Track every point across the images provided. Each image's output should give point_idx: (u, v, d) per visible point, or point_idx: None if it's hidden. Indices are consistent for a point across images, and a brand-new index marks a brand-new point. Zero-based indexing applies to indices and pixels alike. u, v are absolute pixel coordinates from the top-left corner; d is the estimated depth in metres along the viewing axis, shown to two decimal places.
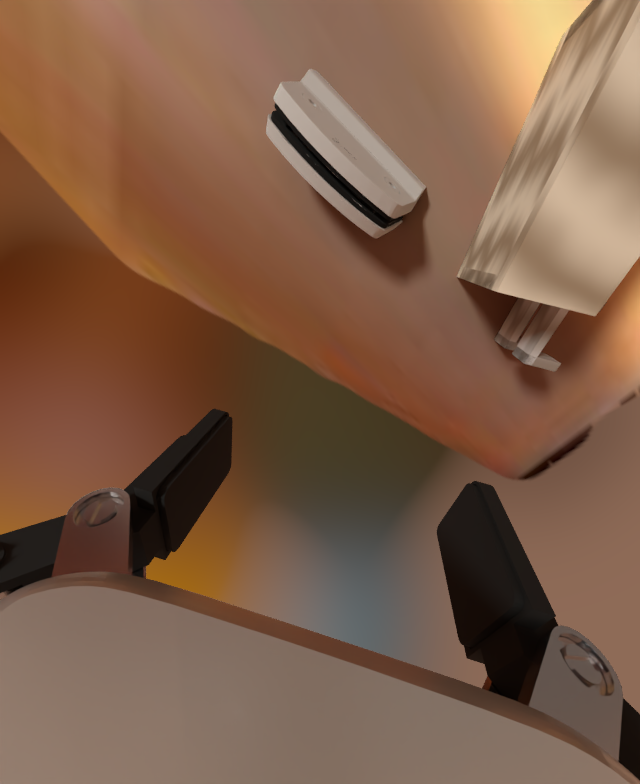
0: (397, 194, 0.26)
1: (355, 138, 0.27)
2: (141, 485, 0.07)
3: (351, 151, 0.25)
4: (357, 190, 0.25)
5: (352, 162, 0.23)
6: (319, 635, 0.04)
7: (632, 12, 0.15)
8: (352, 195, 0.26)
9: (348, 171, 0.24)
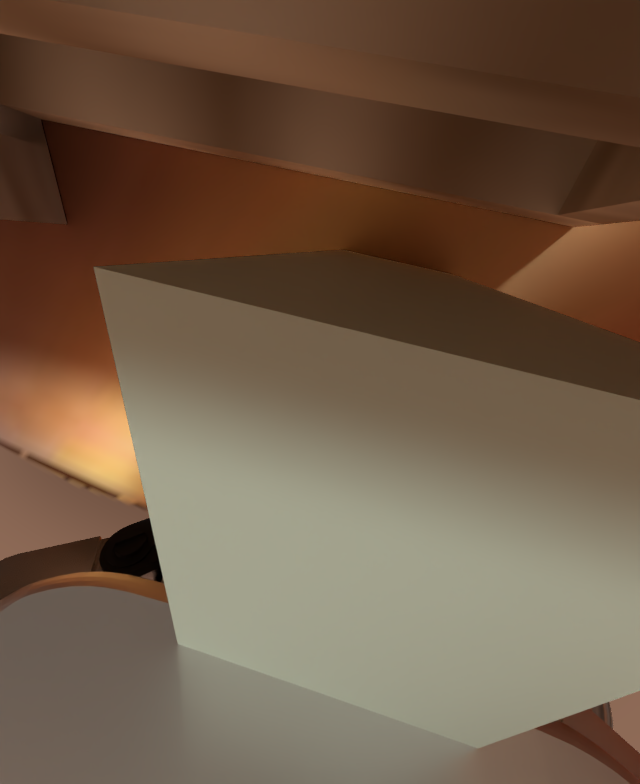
0: None
1: None
2: None
3: None
4: None
5: None
6: None
7: None
8: None
9: None
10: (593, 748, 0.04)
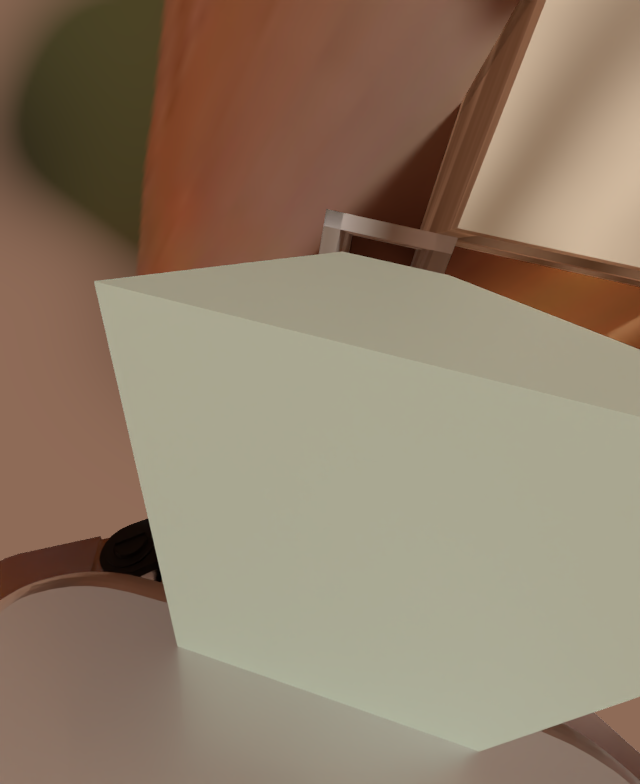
0: None
1: None
2: None
3: None
4: None
5: None
6: None
7: None
8: None
9: None
10: (593, 748, 0.04)
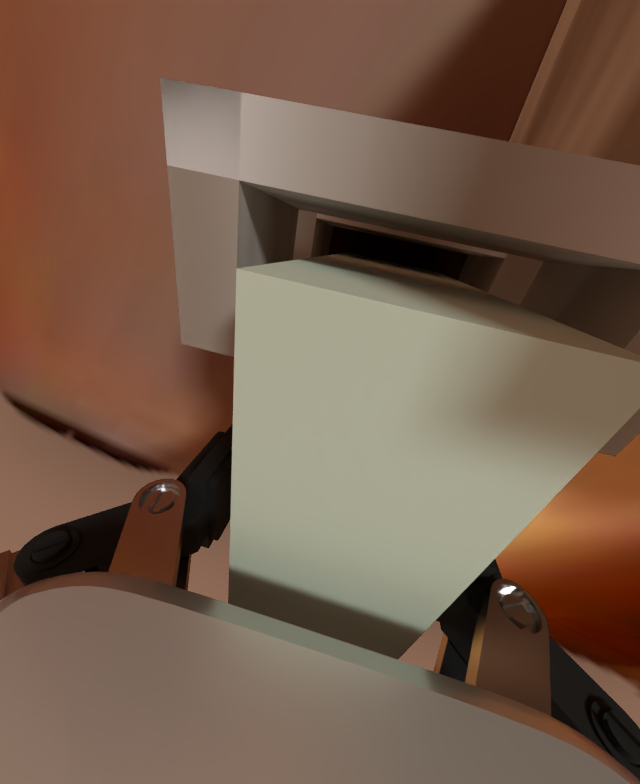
0: None
1: None
2: (195, 476, 0.07)
3: None
4: None
5: None
6: (319, 635, 0.04)
7: None
8: None
9: None
10: (593, 748, 0.04)
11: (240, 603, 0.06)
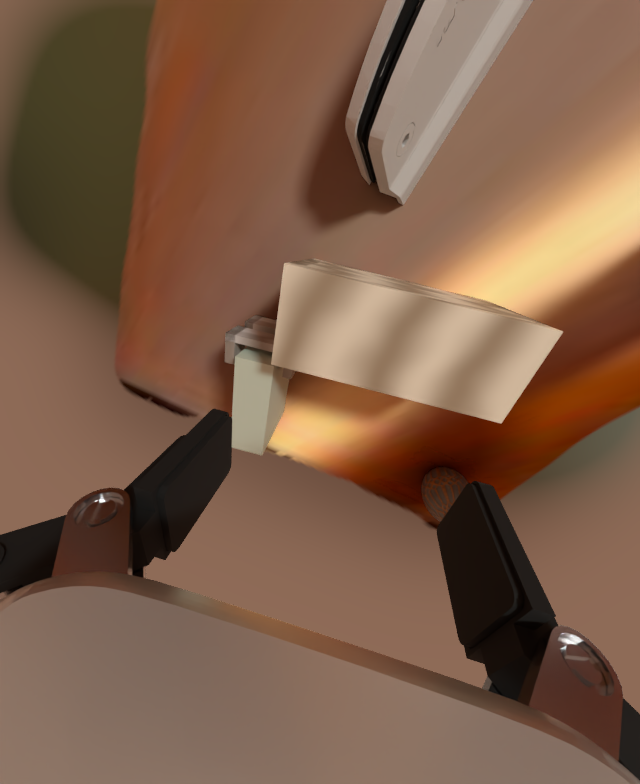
0: (395, 147, 0.21)
1: (460, 68, 0.21)
2: (141, 485, 0.07)
3: (448, 40, 0.17)
4: (400, 55, 0.17)
5: (434, 29, 0.16)
6: (319, 635, 0.04)
7: (491, 312, 0.20)
8: (395, 54, 0.17)
9: (424, 23, 0.16)
10: (593, 748, 0.04)
11: (234, 414, 0.30)
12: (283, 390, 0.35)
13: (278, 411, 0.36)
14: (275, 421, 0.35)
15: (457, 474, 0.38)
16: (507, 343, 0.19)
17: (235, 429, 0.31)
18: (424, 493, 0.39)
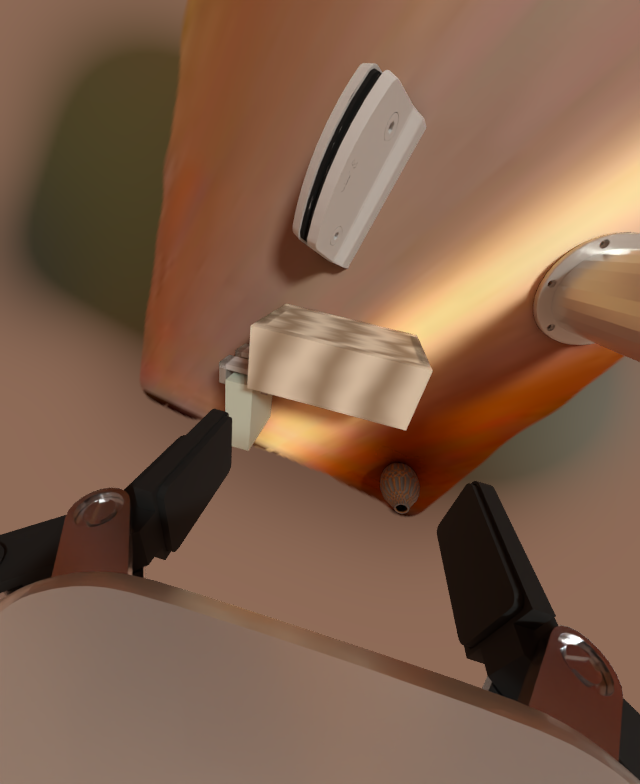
0: (328, 242, 0.31)
1: (371, 187, 0.30)
2: (141, 485, 0.07)
3: (351, 184, 0.27)
4: (318, 199, 0.27)
5: (336, 187, 0.26)
6: (319, 635, 0.04)
7: (390, 356, 0.29)
8: (317, 195, 0.27)
9: (329, 185, 0.25)
10: (593, 748, 0.04)
11: None
12: (266, 401, 0.46)
13: (263, 417, 0.46)
14: (260, 424, 0.46)
15: (407, 468, 0.47)
16: (399, 377, 0.29)
17: None
18: (380, 483, 0.48)
